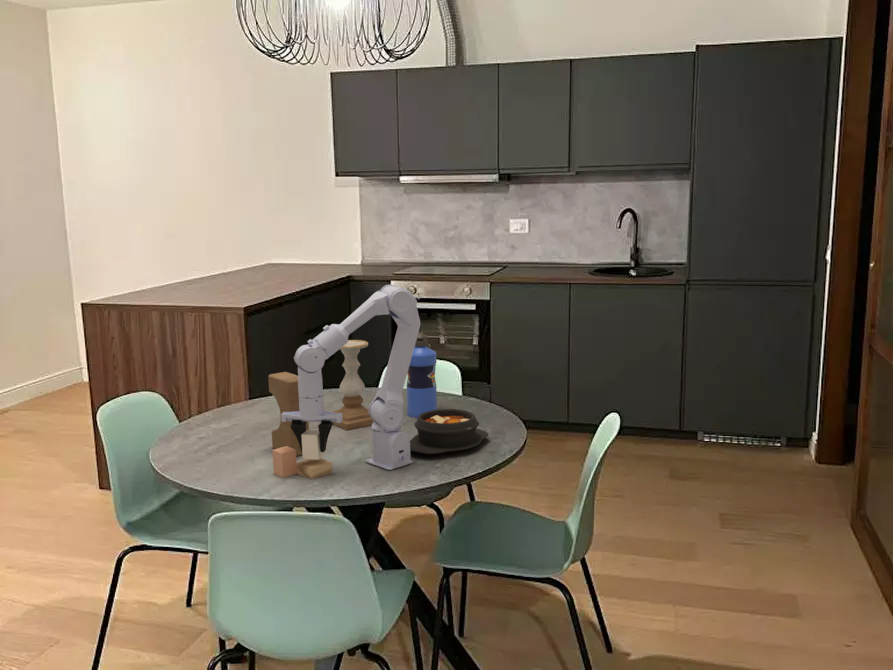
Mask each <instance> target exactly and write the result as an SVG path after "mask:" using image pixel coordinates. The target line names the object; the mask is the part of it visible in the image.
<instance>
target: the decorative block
mask: <svg viewBox="0 0 893 670" xmlns="http://www.w3.org/2000/svg"><path fill="white" fill-rule="evenodd" d="M267 377H268V378H267V379H268V392H269V393H270V394H272V395H273V396H274V399H275V400H276V402H277V405H278V408H279V413H280V415H279V416H281V414H282V413H283V412H296V411H300V410H299V393H298V374H297V375H296V374H294V373H290V372H289V371H288V372H287V371H283V372H276V373H270V374H269V375H268V376H267ZM291 424H292V421H286V422H282V418H281V417H280V422H279V426H278V428H277V429H272V431H271V443H272V444H271V445H272V446H271V447H272V448H273V449H278V448H281V447H285V446H288V447H290V448H293V449H296V457H298V456H303V455H302V452H301V448H300V445H299V442H298V440H297V437H296V435H295V434H294V432H293V430H292V429H291V426H290V425H291ZM307 430H310V422H306V431H307Z"/></svg>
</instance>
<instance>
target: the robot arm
mask: <svg viewBox="0 0 893 670" xmlns="http://www.w3.org/2000/svg"><path fill="white" fill-rule="evenodd" d="M417 305H418V301H417V299H416V298H415V296H414V295H413V293H412V292H411V291H410V290H409V289H407V288H404V287H399V286H397V285H394V284H386V285H384V286H383V287H381V289H379V290H376V291H375V292H374V293H373V294H372V295H371V296H370V297H368V299H366V301H364V302H363V303H362V304H361V305H360V306H359V307H357V308H356V309H355V310H354V311H353V312H352V313H351V314H350V315H349V316H348V317H347V318H345V319H344V320H343V321H342V322H341V323H339V324H337V323H332V324H330V325H328V324H326V325H325V326H324V327H322V329H323V331H322V332H320V333H319V334H318V335H317V336H315V337H314V338H313V339H311V338H310V339H309V340H307V343H308V344H303V345H301V346H299V348H297V350H296V351H295V354H294V356H293V360H294V362H295V364H296V365H297V376H298V393H299V410H300V411H296V412H283V413H282V414H281V415H280V419H281V418H282V422H286V421H292V424H291V425H290V426H291V429H292V430H293V432H294V434H295V435H296V437H297V440H298V442H299V445H300V448H301V452H302V436H301V434H303V433H304V432H306V422H309V423H310V422H313V423H319V424H318V426H317V430H319V434H320V450H321V452H324V451H325V452H326V450H327V445H328V444H327V443H328V439H329V436H330V432H331V430H332V427H333V426H334V425H333V423H334V422H336V423H341V422H342V421H343V415H342V413H334V412H333V411H326V410H325V409H324V408H325V407H324V406H325V405H324V391H323V390H324V389H323V375H322V374H323V373H322V368H323V367H324V365H325V361H326V360H328V359H329V358H330V357H331V356H332V355H334V354H336V352H338V351H340V350H341V349H340V348H341V347H343V346H344V345H345V344H346V343H347V342H348V340H349V336H350V334H352V333H354V332H355V331H356V330H357V329H358V328H360V327H361V326H363V325H364V324H365V323H367V322H368V321H370V320H371V319H372V318H374V317H375V316H383V315H387V316H388V315H391V317H392V319H393V320H394V322H395V323H396V326H397V329H396V333H395V336H394V340H393V344H392V347H391V351H390V354H389V359H388V362H387V365H386V369H385V373H384V376H383V380H382V385H381V387H380V388H378V390H377V391H376V394H375V396H374V399H373V400H372V401H370V403H369V406H368V408H367V409H368V412H369V416H370V417H371V418H372V419H373V424H372V425H371V444H372V445H371V447H372V457H370V458H367V459H365V463H367V464H370V465H373V466H376V467H377V468H378V467H379V468H382V469H385V470H387V471H392V470H394V469H398V468H400V467H401V468H402V467H404V466H406V465H410V464H413V463H414V460H413V459H411V450H410V440H411V439H410V436H409V435H408V434H407V433H406V432H405V431H403V430H402V427H401V425H402V424H403V421H404V413H403V412H404V411H403V409H404V405H405V404H404V396H403V391H404V387H405V382H406V381H407V380H406V379H407V377H408V375H407V373H408V369H409V365H410V362H411V358H412V354H413V351H414V347H415V343H416V340H417V336H418V332H420V329H421V328H420V327H421V319H420V315H419V311H418V307H417Z"/></svg>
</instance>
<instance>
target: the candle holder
mask: <svg viewBox="0 0 893 670" xmlns="http://www.w3.org/2000/svg"><path fill="white" fill-rule="evenodd" d="M368 346H369V342H368V341H366V340H362V339H348V342H347V343H346V344H345V345H344V346H343V347H341V348H340V349H339V350H340V351H341V353H342V354H343V356H344V361H343V363H342V365H341V367H343V369H344V370H345V374H344V377H343V379H342V381H341V383H340V384H339V392H340V394H341V395H343V398H342V400H341V402H342V404H343V406H342V407H341V408H339V409H337V410H332V412H334V413H342V415H343V421H342V422H341V423H336V422H334V423H333V425H332V426H335V427H338V428H339V429H341V430H345V431H351V430H355V429H361V428H365V427H369V426H371V427H372V424H373V419H372V418H371V417H370V416H369V412H368V409H369V408H368V407H366V406H364V405H362V404H363V402H364V398H363V397H362V394H363V393H364V392H365V389H366V388H365V387H366V386H365V384H364V382H363V380H362V378H360V375H359V373H358V370H359V367H361V363H360V361H359V360H358V355H359V353H360V351H361V349H364V348H366V347H368Z"/></svg>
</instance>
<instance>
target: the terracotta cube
mask: <svg viewBox="0 0 893 670" xmlns="http://www.w3.org/2000/svg"><path fill="white" fill-rule="evenodd" d="M272 467H273V474H274V475H276V476H278V477H280V478H286V477H290V476H294V475H296V474H297V456H296V449H293V448H290V447H288V446H285V447H281V448H278V449H275V448H273V449H272Z"/></svg>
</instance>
